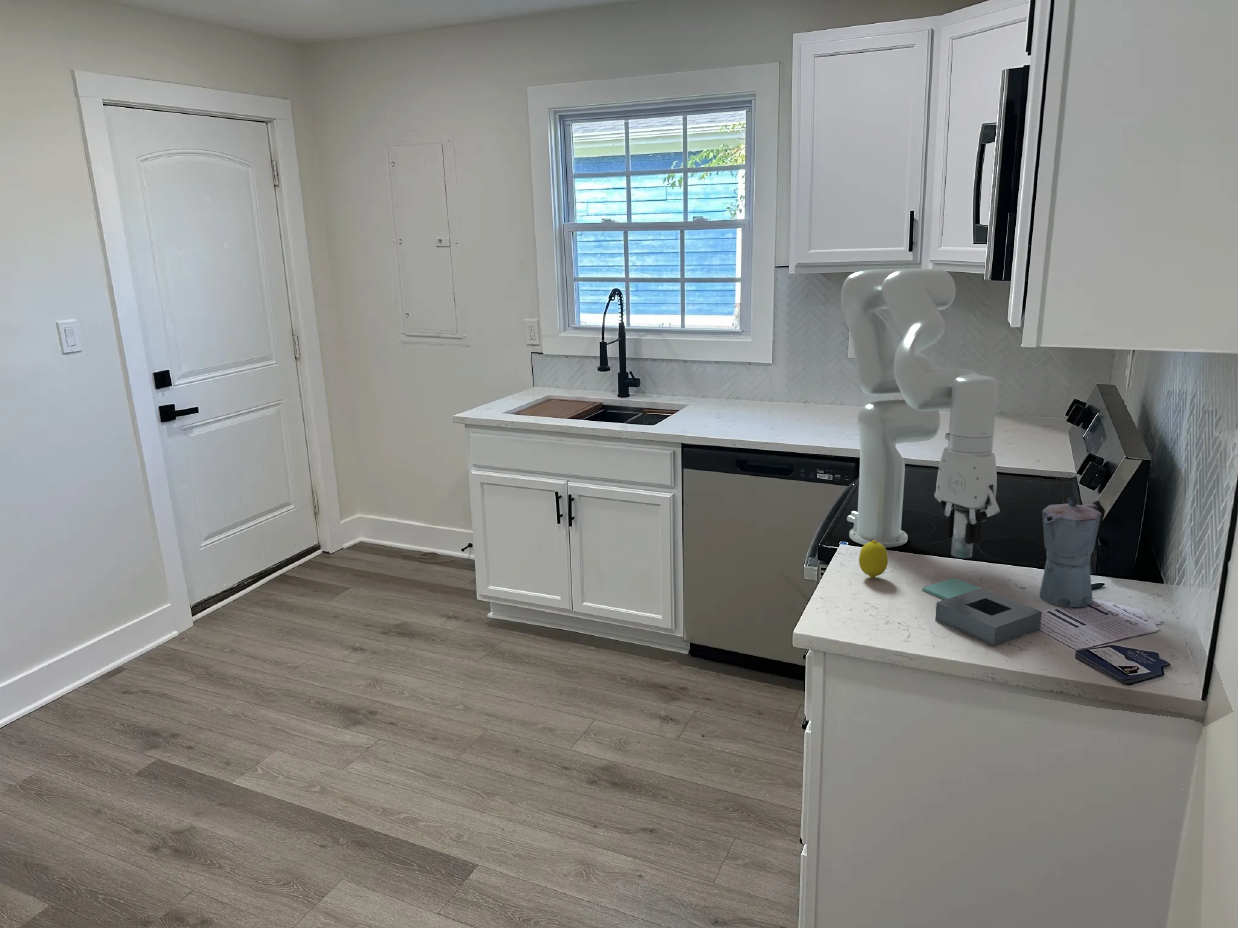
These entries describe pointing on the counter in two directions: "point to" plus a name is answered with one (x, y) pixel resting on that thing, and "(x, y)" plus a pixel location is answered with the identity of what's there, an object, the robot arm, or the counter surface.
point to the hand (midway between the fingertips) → (963, 538)
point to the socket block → (988, 616)
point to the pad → (949, 588)
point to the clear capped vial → (961, 533)
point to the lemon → (873, 559)
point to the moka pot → (1069, 552)
